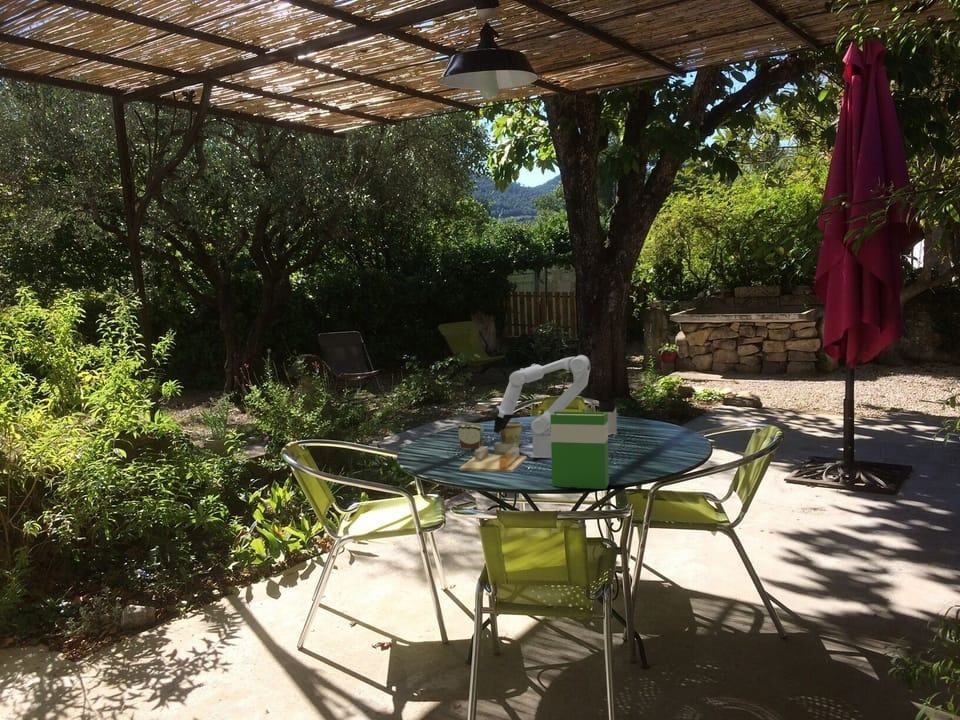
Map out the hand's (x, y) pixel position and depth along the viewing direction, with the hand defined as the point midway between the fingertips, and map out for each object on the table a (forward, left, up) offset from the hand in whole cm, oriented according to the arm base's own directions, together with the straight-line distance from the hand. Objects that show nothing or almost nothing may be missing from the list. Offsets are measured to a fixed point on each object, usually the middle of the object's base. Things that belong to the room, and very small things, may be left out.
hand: (498, 430), depth 301 cm
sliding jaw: (-9, +17, -9) cm, 21 cm away
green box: (-39, +42, -10) cm, 58 cm away
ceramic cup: (0, -18, -10) cm, 21 cm away
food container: (+15, -12, -10) cm, 21 cm away
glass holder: (-34, -48, -10) cm, 60 cm away
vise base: (-2, +17, -10) cm, 19 cm away
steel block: (-2, 0, -10) cm, 10 cm away
